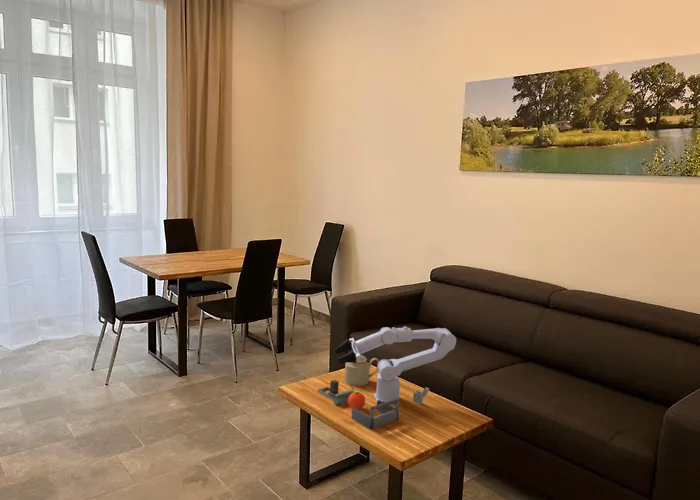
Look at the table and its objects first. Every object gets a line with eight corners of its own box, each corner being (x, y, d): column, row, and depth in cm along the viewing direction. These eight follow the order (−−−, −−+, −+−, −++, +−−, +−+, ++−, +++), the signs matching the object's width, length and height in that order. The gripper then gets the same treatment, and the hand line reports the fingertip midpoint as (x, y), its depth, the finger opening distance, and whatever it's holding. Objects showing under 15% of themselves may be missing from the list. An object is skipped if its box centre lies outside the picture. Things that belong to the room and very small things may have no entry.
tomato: (342, 406, 220) (343, 389, 219) (357, 402, 224) (357, 386, 223) (353, 413, 213) (354, 396, 212) (368, 410, 217) (369, 393, 216)
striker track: (317, 391, 233) (317, 389, 233) (327, 388, 237) (327, 386, 237) (337, 402, 223) (337, 400, 223) (347, 399, 227) (347, 397, 227)
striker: (321, 396, 227) (322, 382, 227) (340, 391, 234) (340, 377, 233) (336, 405, 220) (337, 390, 219) (355, 399, 226) (356, 385, 225)
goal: (351, 418, 209) (352, 397, 208) (378, 409, 219) (380, 389, 218) (370, 429, 201) (372, 408, 200) (398, 419, 210) (400, 399, 209)
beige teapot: (365, 373, 257) (367, 343, 255) (380, 381, 248) (382, 350, 246) (339, 379, 248) (341, 348, 246) (354, 388, 239) (356, 355, 237)
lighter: (412, 401, 228) (413, 383, 227) (415, 400, 229) (416, 382, 228) (425, 407, 223) (427, 388, 222) (428, 406, 224) (429, 387, 223)
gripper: (360, 327, 230) (330, 340, 230) (368, 344, 217) (336, 358, 216) (365, 341, 233) (336, 353, 232) (373, 358, 220) (342, 371, 219)
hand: (336, 356), depth 225 cm, fingers open, 7 cm apart
